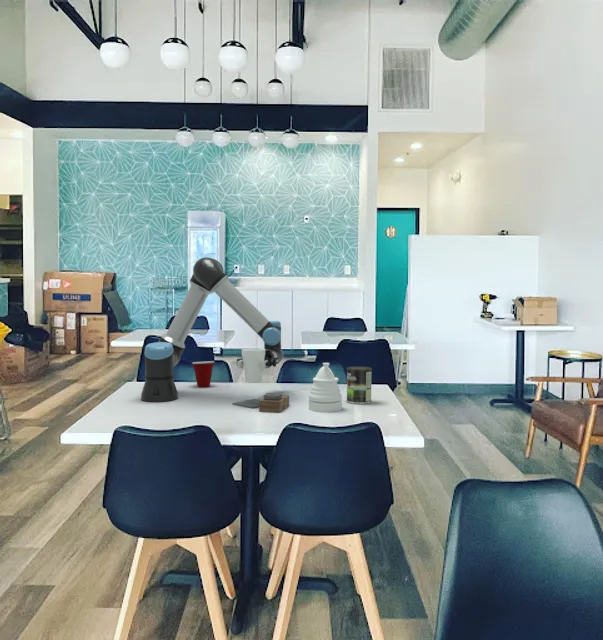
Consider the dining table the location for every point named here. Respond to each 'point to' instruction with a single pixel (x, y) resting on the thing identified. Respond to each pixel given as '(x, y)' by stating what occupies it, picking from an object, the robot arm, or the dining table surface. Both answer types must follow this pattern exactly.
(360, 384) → the coffee can
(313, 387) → the honey pot
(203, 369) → the plastic cup
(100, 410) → the dining table surface
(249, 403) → the coaster
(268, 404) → the walnut block
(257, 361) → the foam cup
